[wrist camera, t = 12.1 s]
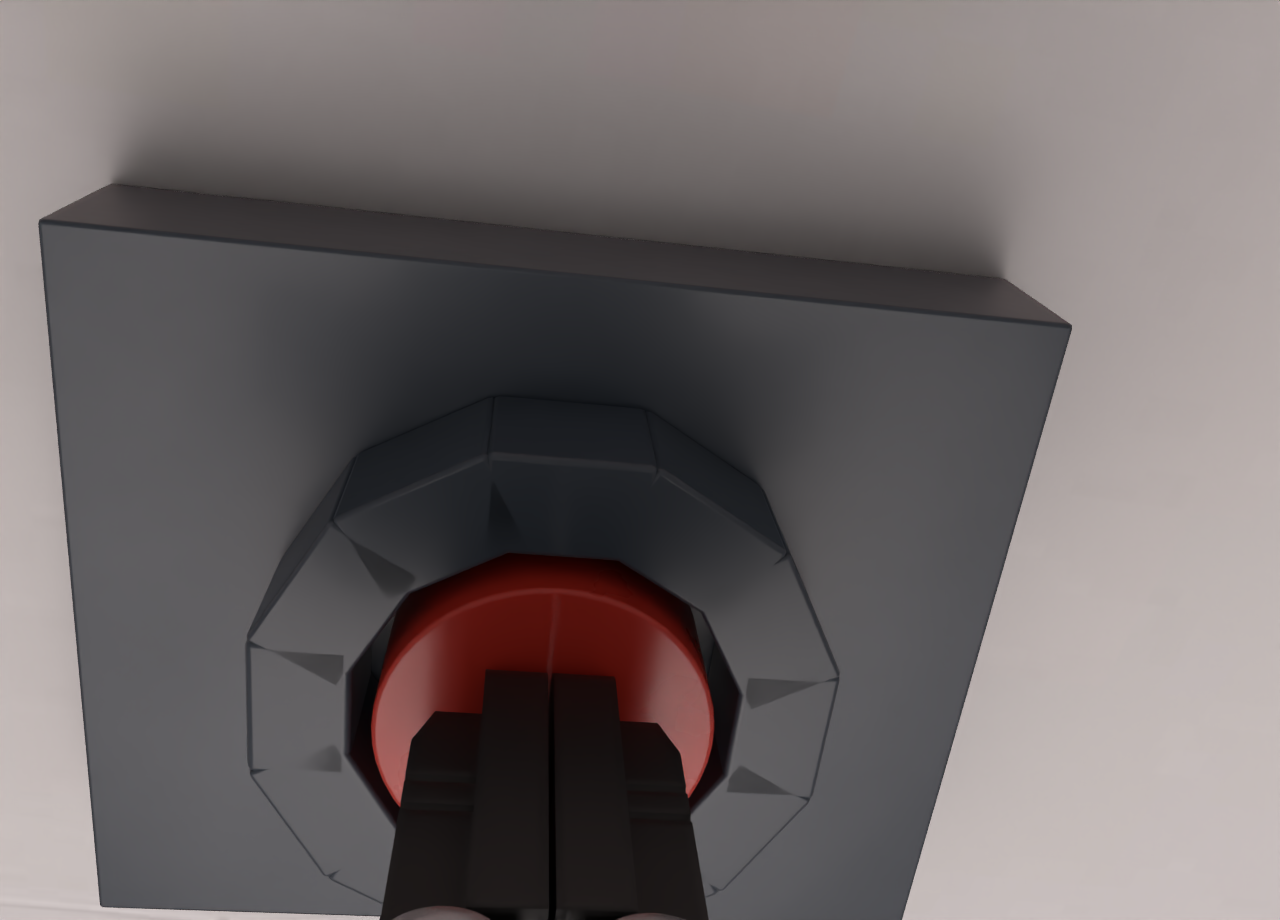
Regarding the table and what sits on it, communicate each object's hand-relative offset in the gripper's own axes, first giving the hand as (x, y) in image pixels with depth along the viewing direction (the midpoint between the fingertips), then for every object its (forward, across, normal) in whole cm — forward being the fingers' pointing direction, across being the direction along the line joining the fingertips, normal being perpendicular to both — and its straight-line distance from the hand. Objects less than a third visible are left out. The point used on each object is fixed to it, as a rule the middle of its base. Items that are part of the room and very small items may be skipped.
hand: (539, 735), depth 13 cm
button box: (+4, 0, 0) cm, 4 cm away
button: (+2, 0, 0) cm, 2 cm away
